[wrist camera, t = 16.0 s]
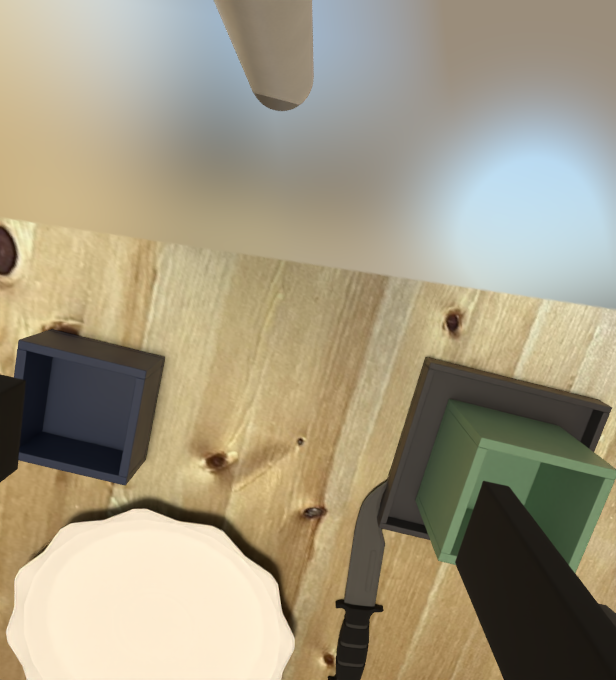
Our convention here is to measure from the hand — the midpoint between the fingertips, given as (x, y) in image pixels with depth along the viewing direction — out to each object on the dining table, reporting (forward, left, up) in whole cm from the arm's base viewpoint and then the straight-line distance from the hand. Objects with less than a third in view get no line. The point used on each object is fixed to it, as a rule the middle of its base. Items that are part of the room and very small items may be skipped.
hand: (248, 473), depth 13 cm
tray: (+10, +21, -31) cm, 39 cm away
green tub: (+10, +21, -30) cm, 38 cm away
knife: (+27, +14, -31) cm, 43 cm away
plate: (+37, -7, -31) cm, 49 cm away
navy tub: (+13, -17, -31) cm, 37 cm away
